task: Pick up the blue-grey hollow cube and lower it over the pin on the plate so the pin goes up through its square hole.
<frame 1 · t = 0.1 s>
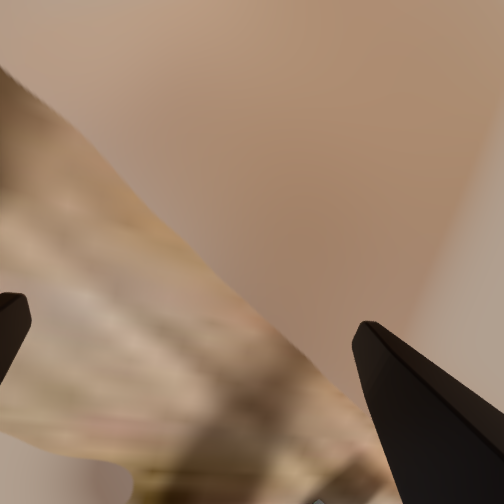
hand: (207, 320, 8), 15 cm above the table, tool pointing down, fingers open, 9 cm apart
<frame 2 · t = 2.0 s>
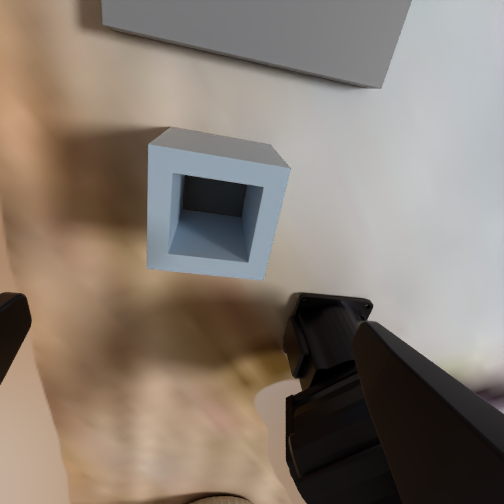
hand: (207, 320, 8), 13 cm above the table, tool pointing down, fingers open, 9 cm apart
blue-grey hollow cube: (216, 184, 19), on the table
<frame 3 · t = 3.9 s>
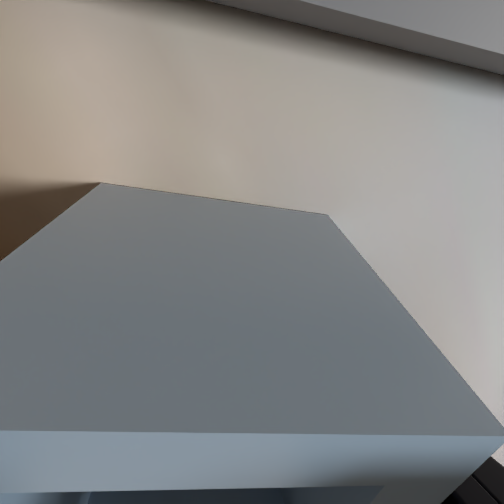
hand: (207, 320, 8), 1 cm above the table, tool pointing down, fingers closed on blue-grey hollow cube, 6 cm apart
blue-grey hollow cube: (209, 290, 9), on the table, touching gripper
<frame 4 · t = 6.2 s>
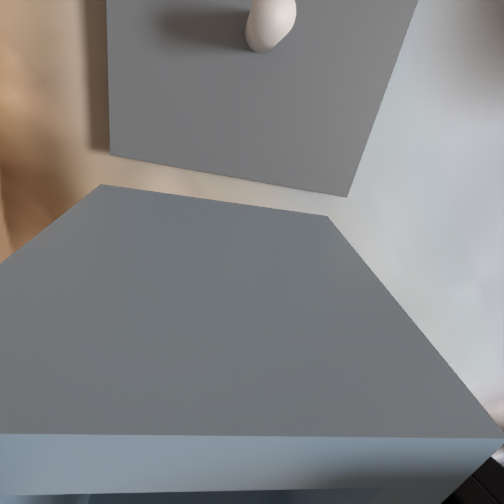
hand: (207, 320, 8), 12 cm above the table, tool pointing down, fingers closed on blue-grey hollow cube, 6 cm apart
pin plate: (258, 38, 15), on the table
blue-grey hollow cube: (209, 291, 9), point 11 cm above the table, touching gripper
when the fingers open (4 cm above the table, at t = 8.8 s): blue-grey hollow cube drops 1 cm, resting on pin plate.
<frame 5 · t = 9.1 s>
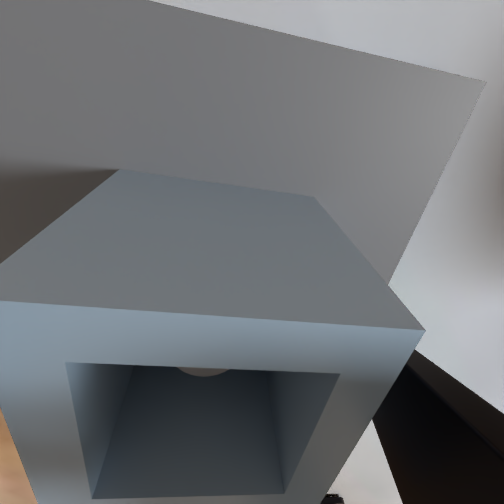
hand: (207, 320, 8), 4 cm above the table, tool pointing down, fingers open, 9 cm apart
pin plate: (212, 245, 12), on the table
blue-grey hollow cube: (211, 265, 10), point 1 cm above the table, touching pin plate
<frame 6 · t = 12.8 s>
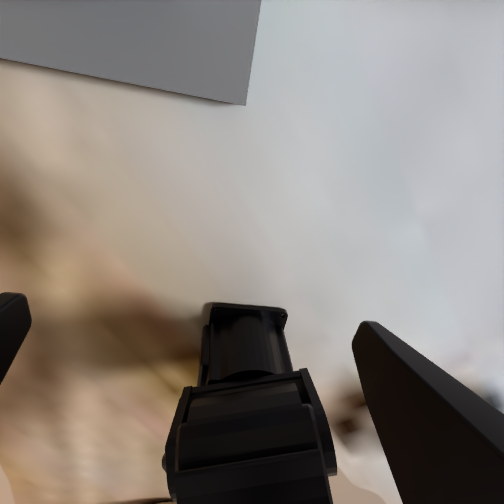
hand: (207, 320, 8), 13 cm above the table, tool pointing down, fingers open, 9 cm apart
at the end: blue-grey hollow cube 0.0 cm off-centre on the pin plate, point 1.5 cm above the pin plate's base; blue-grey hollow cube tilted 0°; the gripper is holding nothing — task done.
